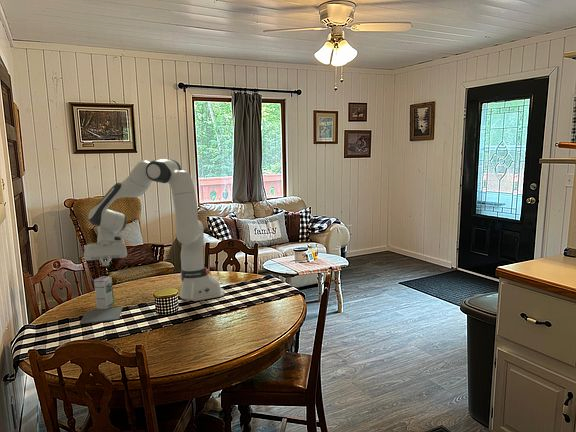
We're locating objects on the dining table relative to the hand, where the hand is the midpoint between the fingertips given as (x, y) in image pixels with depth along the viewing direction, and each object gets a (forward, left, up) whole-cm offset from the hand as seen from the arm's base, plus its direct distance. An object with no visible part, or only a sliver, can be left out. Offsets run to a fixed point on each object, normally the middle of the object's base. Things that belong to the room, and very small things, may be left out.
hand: (105, 265), depth 213 cm
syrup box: (0, +11, -18) cm, 21 cm away
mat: (0, +23, -18) cm, 29 cm away
